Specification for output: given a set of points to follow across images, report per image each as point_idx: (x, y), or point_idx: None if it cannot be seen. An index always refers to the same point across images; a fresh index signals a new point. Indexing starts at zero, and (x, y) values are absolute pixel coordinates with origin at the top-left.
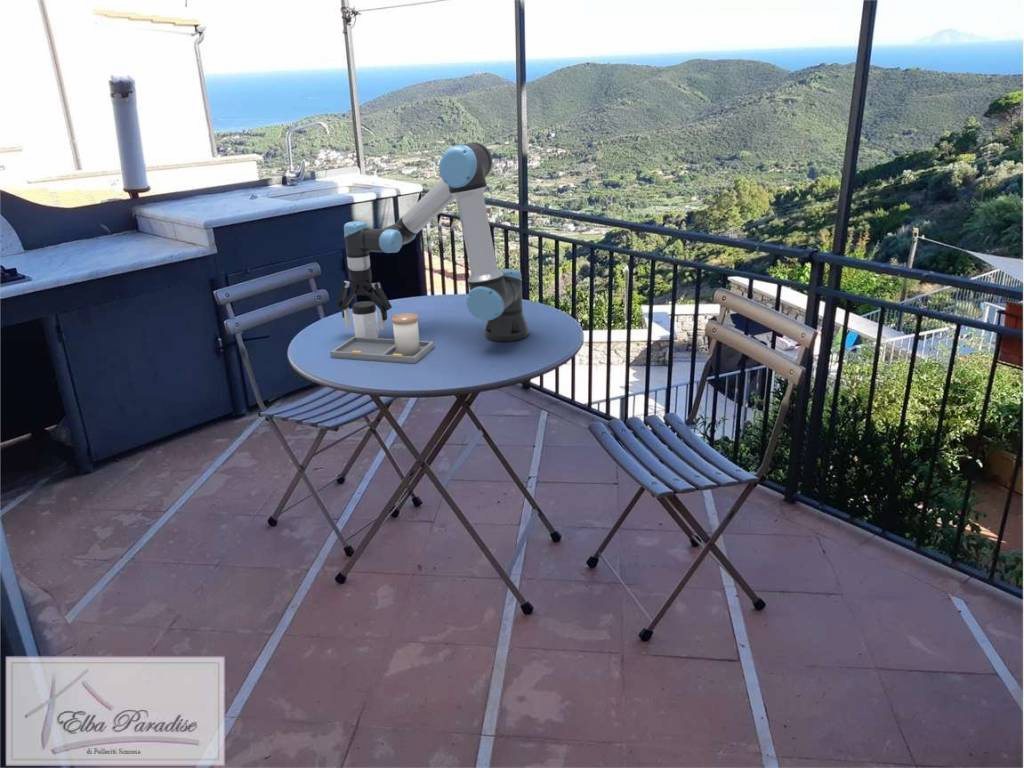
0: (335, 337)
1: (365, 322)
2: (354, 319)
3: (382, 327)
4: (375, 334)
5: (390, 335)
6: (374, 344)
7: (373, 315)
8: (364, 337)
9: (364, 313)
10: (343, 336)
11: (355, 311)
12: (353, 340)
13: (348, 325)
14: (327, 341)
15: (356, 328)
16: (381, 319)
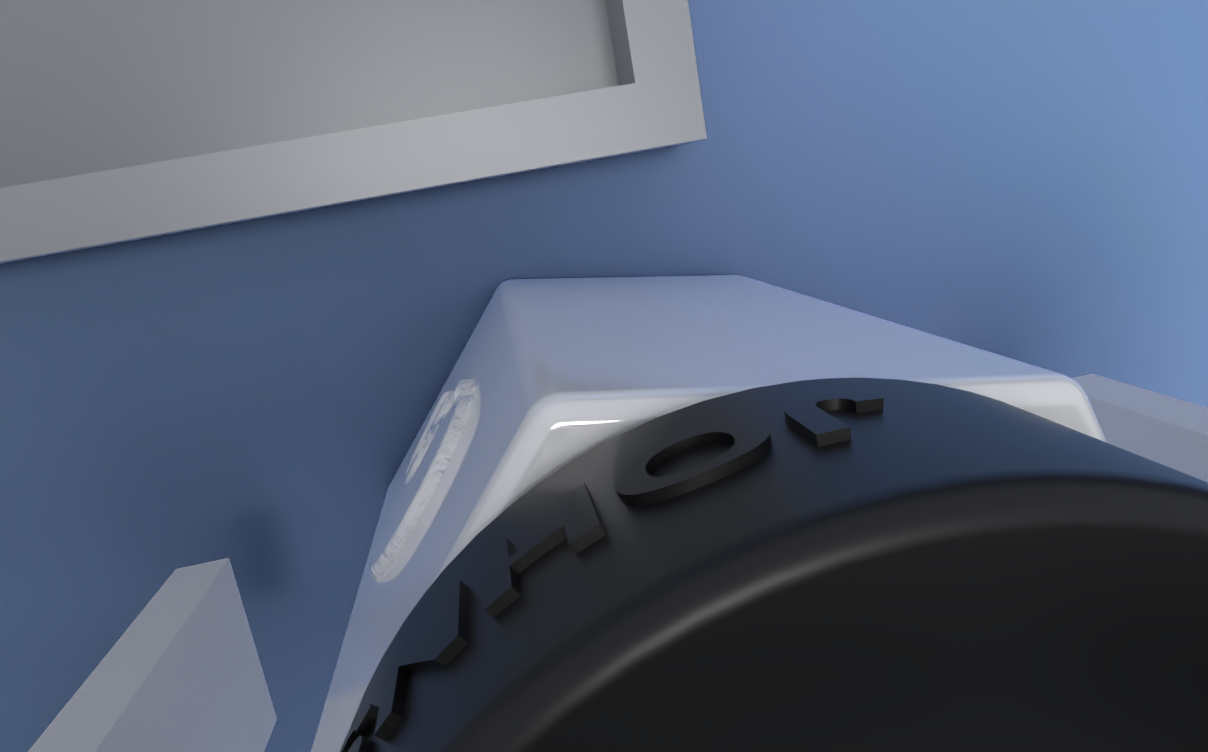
0: (1146, 250)
1: (488, 387)
2: (899, 343)
3: (150, 600)
4: (396, 486)
5: (285, 714)
6: (91, 70)
7: (322, 743)
8: (436, 178)
9: (521, 515)
10: (1045, 347)
11: (984, 406)
12: (618, 22)
13: None
14: (1168, 7)
15: (760, 303)
16: (46, 730)
